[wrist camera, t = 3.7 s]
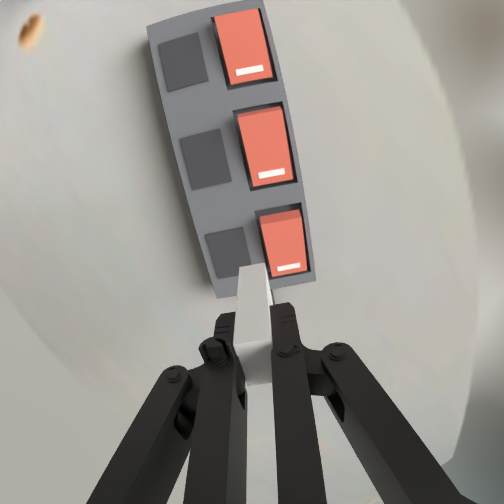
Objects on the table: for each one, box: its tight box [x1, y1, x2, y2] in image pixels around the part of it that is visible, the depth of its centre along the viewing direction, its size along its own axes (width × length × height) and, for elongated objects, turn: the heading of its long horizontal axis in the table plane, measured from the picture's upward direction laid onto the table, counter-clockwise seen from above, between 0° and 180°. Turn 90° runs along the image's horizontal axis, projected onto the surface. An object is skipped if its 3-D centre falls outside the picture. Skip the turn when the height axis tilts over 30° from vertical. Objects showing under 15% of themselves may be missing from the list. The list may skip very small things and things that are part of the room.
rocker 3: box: [260, 209, 307, 277], centre depth 35 cm, size 4×8×2 cm, turn 12°
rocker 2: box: [237, 106, 293, 187], centre depth 30 cm, size 4×8×2 cm, turn 12°
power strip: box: [146, 0, 316, 305], centre depth 34 cm, size 13×44×4 cm, turn 12°
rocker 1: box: [214, 9, 273, 85], centre depth 25 cm, size 4×8×2 cm, turn 12°
